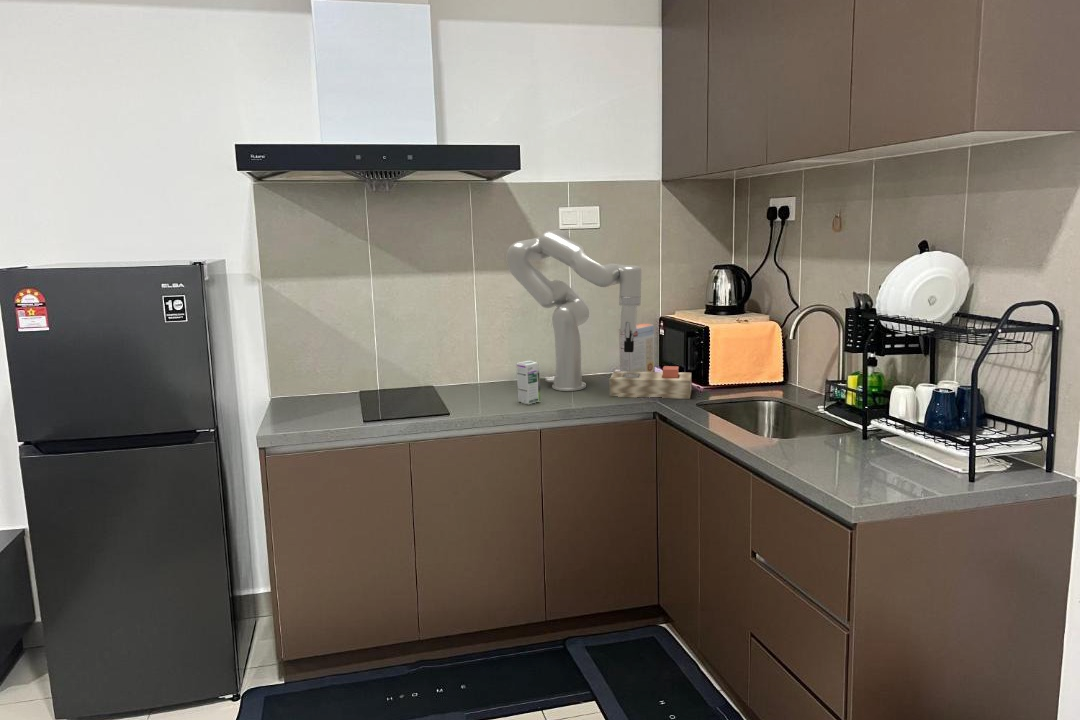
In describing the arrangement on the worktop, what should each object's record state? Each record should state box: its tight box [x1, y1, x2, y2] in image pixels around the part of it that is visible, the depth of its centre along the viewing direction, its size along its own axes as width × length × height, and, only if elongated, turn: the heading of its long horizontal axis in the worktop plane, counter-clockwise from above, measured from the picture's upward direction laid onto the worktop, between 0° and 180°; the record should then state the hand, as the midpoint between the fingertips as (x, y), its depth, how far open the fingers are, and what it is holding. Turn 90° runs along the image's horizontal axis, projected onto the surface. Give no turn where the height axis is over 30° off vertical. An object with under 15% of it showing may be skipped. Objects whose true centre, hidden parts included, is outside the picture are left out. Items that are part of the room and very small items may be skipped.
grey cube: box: [623, 374, 639, 378], centre depth 283 cm, size 5×5×5 cm
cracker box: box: [618, 323, 656, 372], centre depth 300 cm, size 14×6×21 cm, turn 130°
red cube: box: [662, 365, 680, 378], centre depth 279 cm, size 5×5×5 cm
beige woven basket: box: [609, 370, 692, 400], centre depth 281 cm, size 28×12×6 cm, turn 77°
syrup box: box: [516, 360, 542, 403], centre depth 275 cm, size 6×6×14 cm
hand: (628, 351), depth 281 cm, fingers closed
